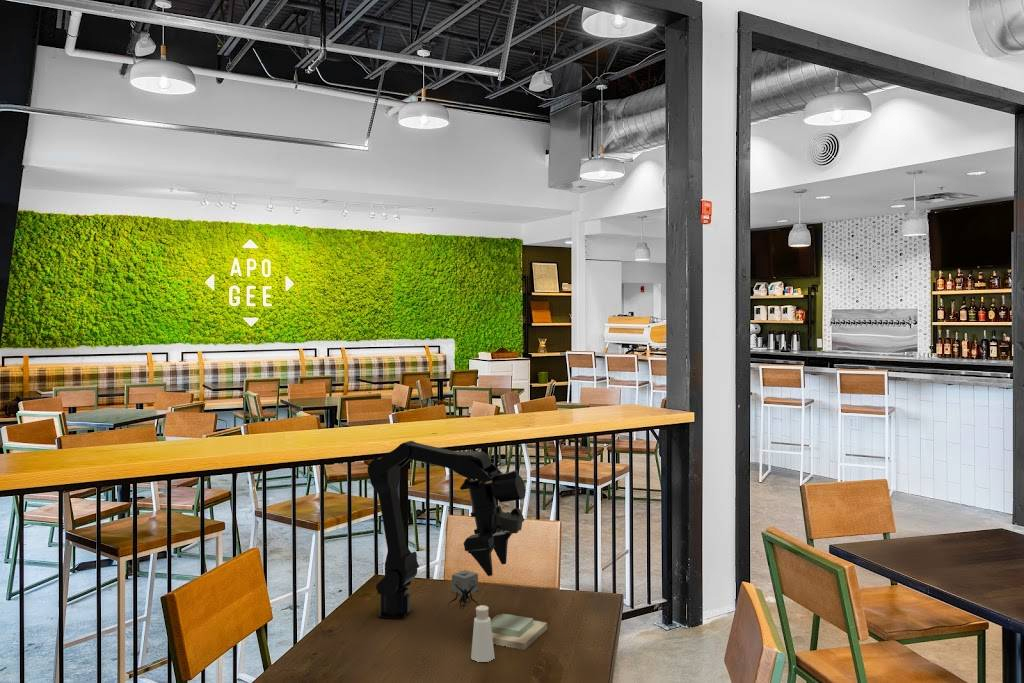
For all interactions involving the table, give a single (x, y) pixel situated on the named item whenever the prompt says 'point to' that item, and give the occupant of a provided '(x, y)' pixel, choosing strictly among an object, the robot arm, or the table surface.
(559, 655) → the table surface
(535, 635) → the plinth
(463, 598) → the creature
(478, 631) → the salt shaker
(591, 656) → the table surface
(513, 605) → the table surface
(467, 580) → the dice cube
